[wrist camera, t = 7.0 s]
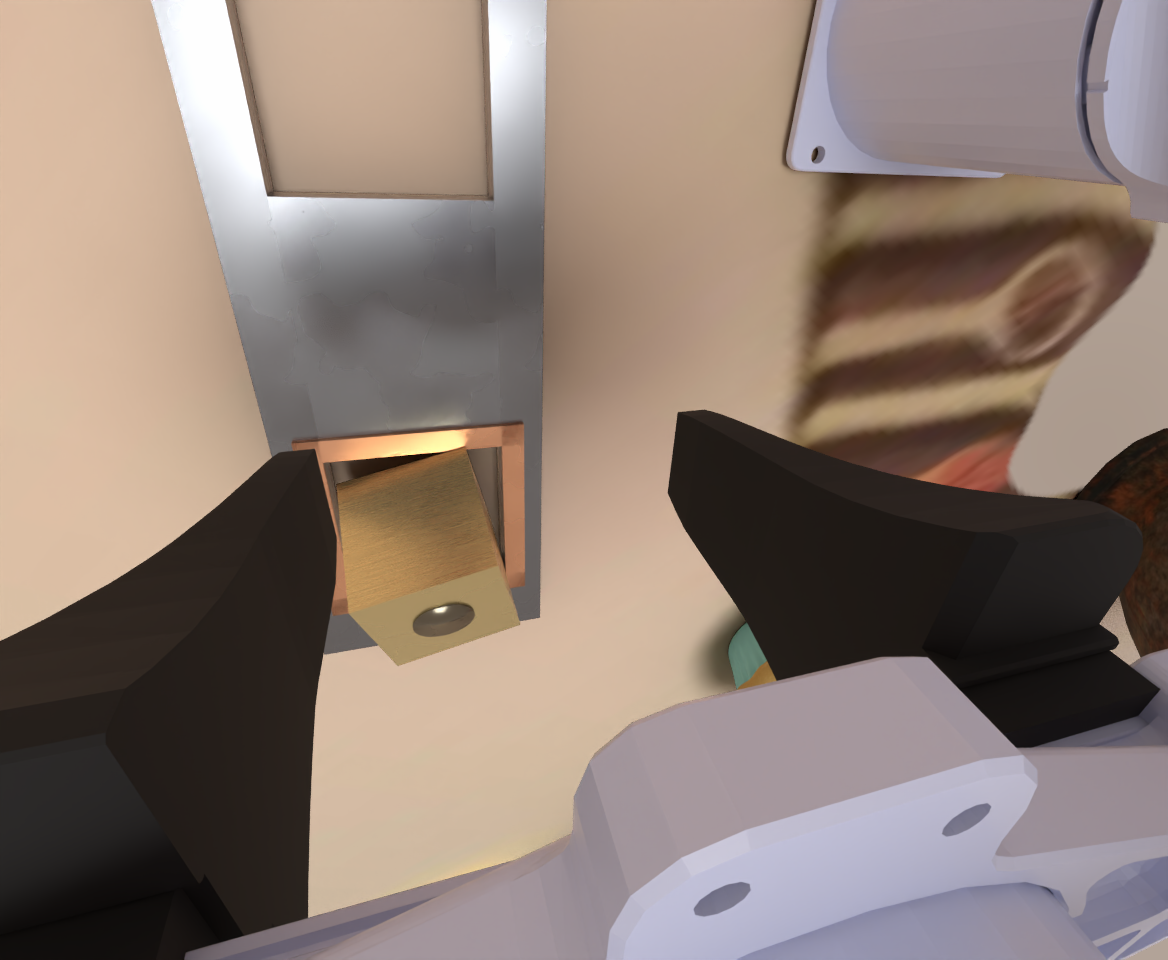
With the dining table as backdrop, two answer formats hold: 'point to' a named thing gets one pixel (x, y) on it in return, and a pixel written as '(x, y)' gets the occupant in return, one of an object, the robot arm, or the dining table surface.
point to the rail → (384, 284)
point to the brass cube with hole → (423, 558)
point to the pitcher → (1163, 514)
